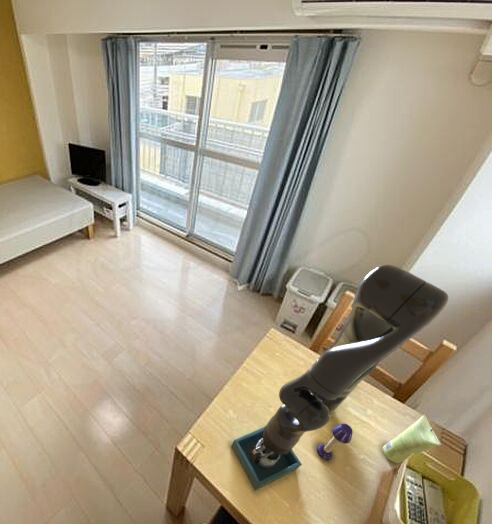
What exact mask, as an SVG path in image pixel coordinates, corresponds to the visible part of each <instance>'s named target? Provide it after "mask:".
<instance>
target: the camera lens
mask: <svg viewBox="0 0 492 524" xmlns="http://www.w3.org/2000/svg"><path fill="white" fill-rule="evenodd" d="M262 440H263V438H262V439H260V440H259V442H258V444H260V443H261V442H262ZM258 444H257V445H258ZM257 445H256V448H257ZM266 454H267V452H266ZM260 455H261V453H260ZM279 458H280V454H276V453H274V454H271V455H270V456H269V457H267V458H263V459H261V461H260V462H259V463H257V465H259V466H260V467H262V468H270V467H272V466H273V465H274V464H275V463H276V462H277V461H278V459H279Z"/></svg>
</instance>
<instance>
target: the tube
mask: <svg viewBox="0 0 492 524" xmlns="http://www.w3.org/2000/svg"><path fill="white" fill-rule="evenodd" d="M440 446H442V443H441V442H440V440H439V439H438V437H437V435H436V433H435V431H434V429H433V427H432V425H431V424H430V422H429V420H428V418H427V417H426V415H425V414H423V415H421V417H420V418H419V419H417V420H416V421H415V422H414V423H413V424H411V425H410V426H409V427H407V428H406V429H405V430H404V431H402V432H401V433H400V434H398V435H397V436H395V437H394V438H393V439H392V440H390V441H388V442H387V443H386V444H384V445H383V447H382V452H383V455H384V456H385V457H386V458H387V459H388V460H389V461H390V462H392V463H396V464H399V463H401V462H403V461H405V460H408V459H409V458H408V457H409V456H410V455H411V454H412V453H415V454H416V455H418V454H421V453H424V452H425V451H428V450H430V449H433V448H437V447H440ZM407 458H408V459H407Z"/></svg>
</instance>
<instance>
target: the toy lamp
mask: <svg viewBox="0 0 492 524" xmlns="http://www.w3.org/2000/svg"><path fill="white" fill-rule="evenodd" d="M353 431H354V430H353V428H352V427H351V426H350V424H348V423H344V422H343V423H338V424H336V425H334V426H332V428H331V433H332V435H333V437H332V438H331V439H330V440H329V441H328V442H327V443H326V444H318V445H317V446H316V453H317V455H318V456H319V457H320V459H322V460H324V461H330V460H331V459H332V458H333V452H332V450H333V449H334V448H335V447H337V445H338V444H339V443H342V444H349V443H350V442H351V441H352V438H353V433H354V432H353Z"/></svg>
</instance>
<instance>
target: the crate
mask: <svg viewBox="0 0 492 524" xmlns="http://www.w3.org/2000/svg"><path fill="white" fill-rule="evenodd" d="M265 427H266V425H265V426H262V427H260V428H258V429H257V430H254V431H252V432H249V433H247V434H245V435H243V436H241V437H238V438H235V439H234V440H233V442H232V444H231V445H230V448H231V449H232V451H233V453H234V455H235V458H236V459H237V460H238V461H237V462H238V463H239V465H240V466H241V468H242V470H243V472H244V473H245V476H246V477H247V479H248V481H249V483H250V485H251V487H252V489H253V491H254V492H255V491H259V490H260V489H262V488H264V487H266V486H268V485H270V484H272V483H274V482H276V481H278V480H280V479H282V478H284V477H286V476H287V475H290V474H291V473H293V472H295V471H297V470H298V469H299V468H300V467H301V466H302V465H303V464H302V462H301V460H299V458H298V455H296V453H295V452H294V450H293V448H292V449H291V450H290V452H288V453H287V454H284V455H280V458H279V459H278V461H277V462H276V463H275V464H274V465H273V466H272V467H270V468H262V467H260V466H259V465H257V464H256V462H253V460H252V458H251V457H250V455H249V451H250V449H251V447H252V446H256V445H257V444H258V442H259V440H260V439H262V438H263V430H264V428H265Z"/></svg>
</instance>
